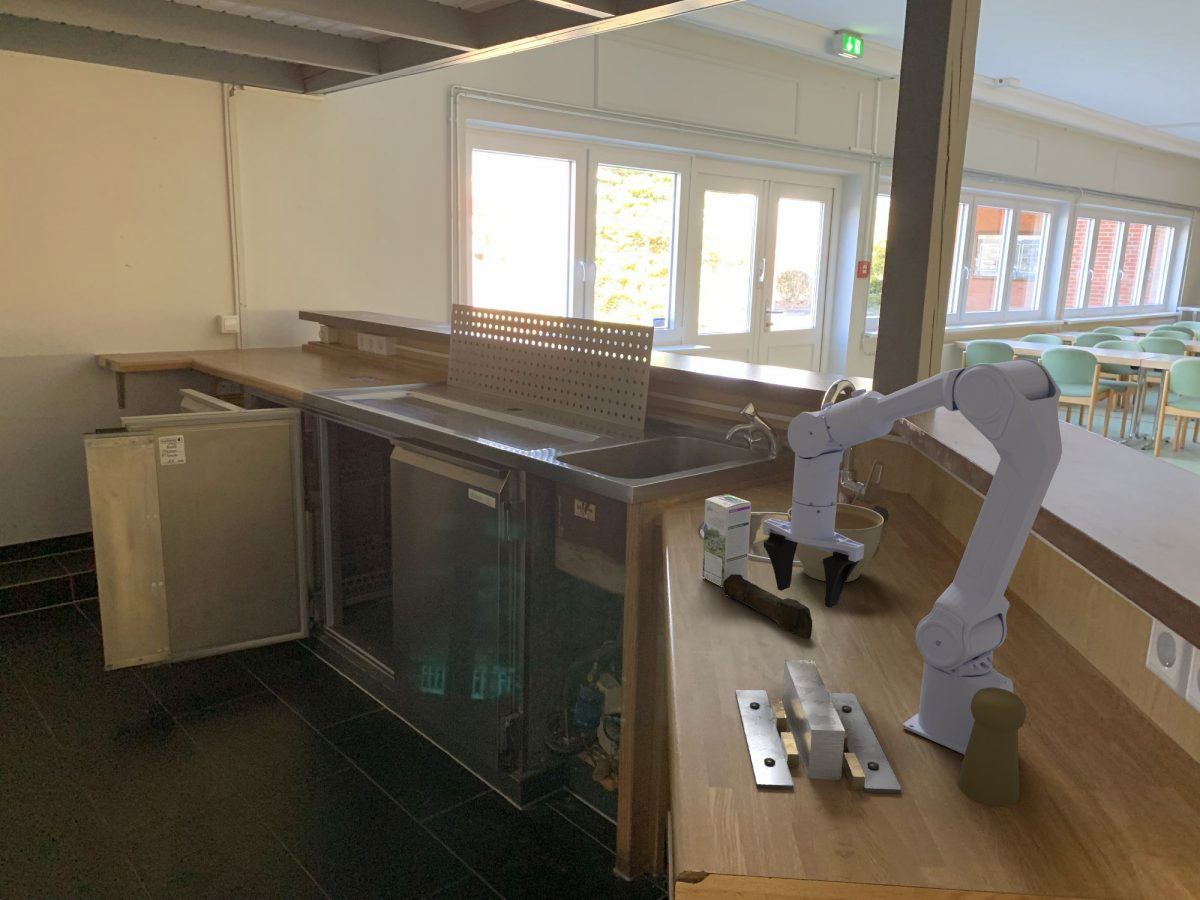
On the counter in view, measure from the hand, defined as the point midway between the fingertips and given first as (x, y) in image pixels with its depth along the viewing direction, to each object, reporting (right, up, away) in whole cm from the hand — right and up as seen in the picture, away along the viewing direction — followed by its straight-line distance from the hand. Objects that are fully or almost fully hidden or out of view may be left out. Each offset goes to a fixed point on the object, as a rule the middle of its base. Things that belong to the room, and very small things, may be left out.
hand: (807, 596), depth 117 cm
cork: (+13, -16, -26) cm, 33 cm away
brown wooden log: (-2, -6, +17) cm, 18 cm away
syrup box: (-7, -3, +31) cm, 32 cm away
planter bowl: (+12, -2, +35) cm, 37 cm away
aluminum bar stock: (-4, -14, -17) cm, 22 cm away
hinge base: (-4, -14, -17) cm, 22 cm away
